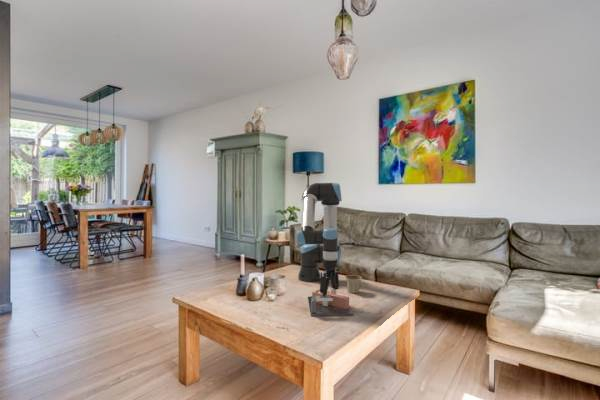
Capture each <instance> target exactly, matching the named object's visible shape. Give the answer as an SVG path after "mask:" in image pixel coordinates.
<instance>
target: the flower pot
mask: <svg viewBox="0 0 600 400" xmlns="http://www.w3.org/2000/svg"><path fill="white" fill-rule="evenodd" d="M362 278H363V277H362V276H360V275H356V274H350V275H346V276H345V280H346V283H347V284H346V285H347V292H349V294H359V292H360V286H361V281H362Z"/></svg>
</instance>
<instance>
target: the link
mask: <svg viewBox="0 0 600 400" xmlns="http://www.w3.org/2000/svg"><path fill="white" fill-rule="evenodd" d="M319 291H320V288H319V289H316V290H315V291H312V295H311V296H323V294H321V293H319ZM327 293H328V296H332V297H333V301H328V304H329V305H332V306H336V307H340V308H344V309H347V308H349V307H350V297H349V296H346V295H345V296H344V295H340V294H337V293H336V294H333V293H331V290H330V291H329V290H327ZM316 303H319V304H323V301H316Z"/></svg>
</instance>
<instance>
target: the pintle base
mask: <svg viewBox="0 0 600 400" xmlns="http://www.w3.org/2000/svg"><path fill="white" fill-rule="evenodd" d="M319 293H321V294H323V293H322V292H320V291H319ZM316 301H333V297H332V296H312V295H311V296H307V302H308V306H309V307H308V309H309V314H310V317H340V316H341V317H342V316H344V317H345V316H346V317H347V316H348V317H350V316H351V317H352V316H353V315H354V313H353V312H352V309H351V306H349V308H347V309H344V308H340V307H336V306H332V305H329V304H328V306H324V305H323V304H319V303H316Z"/></svg>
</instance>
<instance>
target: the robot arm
mask: <svg viewBox="0 0 600 400" xmlns="http://www.w3.org/2000/svg"><path fill="white" fill-rule="evenodd" d="M301 202H302V210H301V211H302V212H301V224H300V230H297V231H296V235H295V237H296V238H295V239H296V243H297V245H302V246H301V247H300V269H299V272H298V274H297V275H298V276H297V279H298V280H299V281H302V282H310V283H311V282H317V281H320V284H319V286H320V287H319V289H320V292H322V293H323V296H328V293H327V291H329V290H328V289H329V286H330V284H331V289H330V293H333V294H337V290H339V287H340V284H339V282H340V279H339V270H340V269H339V268H337V267H338V264H339V263H340V260H341V254H342V252H341V251H342V247H341V246H342V245H340V243H339V241H338V239H339V238H338V237H339V231H338V225H337V224H338V206H339V205H340V202H342V191H341V185H340V184H339V183H337V182H315V183H312V184H310V185H308V186H307V187H306V188H305V190H304V191H303V193H302V194H301ZM317 202H321V203H320V204H321V205H322V207H323V230H315V220H316V218H315V216H316V215H315V214H316V204H317ZM319 264H322V266H323V267H324V270H323V272H322V271H321V272H320V268H319ZM323 305H324V306H328V301H323Z"/></svg>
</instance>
